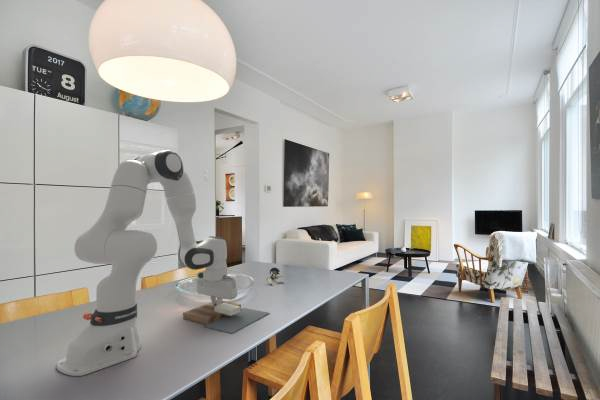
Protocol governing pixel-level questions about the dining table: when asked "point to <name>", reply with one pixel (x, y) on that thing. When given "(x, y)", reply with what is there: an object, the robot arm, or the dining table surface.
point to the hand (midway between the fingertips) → (216, 306)
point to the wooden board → (205, 313)
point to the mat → (236, 320)
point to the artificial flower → (273, 276)
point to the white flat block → (227, 309)
